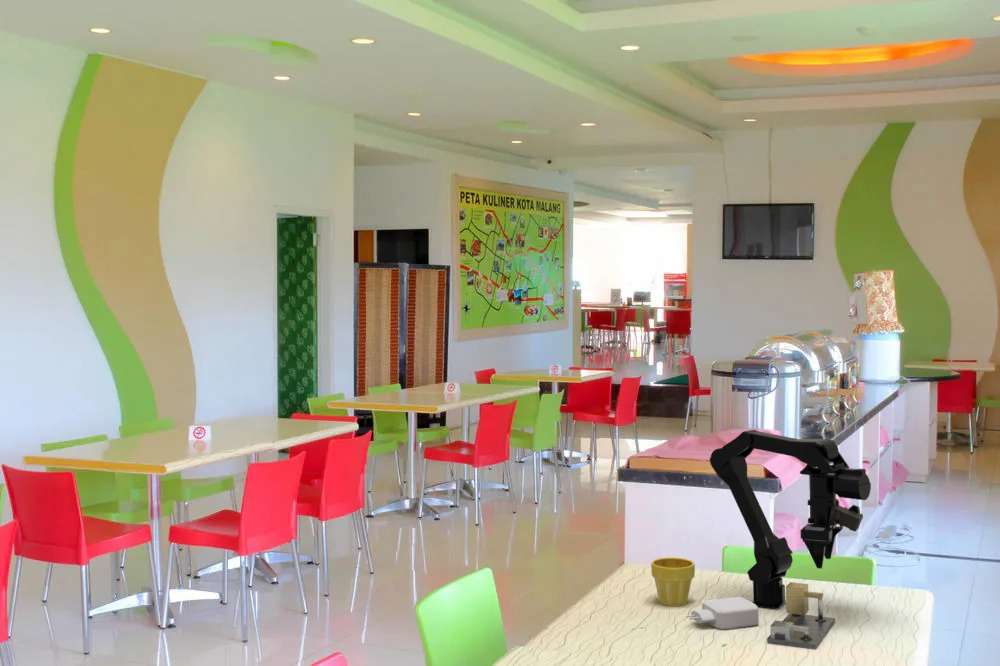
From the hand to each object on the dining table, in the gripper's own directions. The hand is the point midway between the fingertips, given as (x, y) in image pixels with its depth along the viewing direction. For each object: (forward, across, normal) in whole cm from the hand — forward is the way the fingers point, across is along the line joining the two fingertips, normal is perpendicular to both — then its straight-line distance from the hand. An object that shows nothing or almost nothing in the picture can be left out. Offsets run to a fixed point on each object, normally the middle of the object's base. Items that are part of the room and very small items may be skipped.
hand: (823, 563), depth 240 cm
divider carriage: (+11, -7, +3) cm, 13 cm away
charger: (+12, -15, +20) cm, 28 cm away
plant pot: (+12, -3, +35) cm, 37 cm away
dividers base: (+12, -14, +2) cm, 19 cm away
